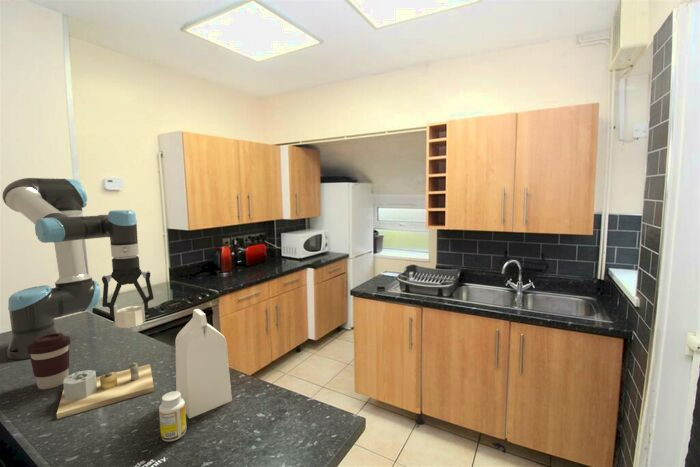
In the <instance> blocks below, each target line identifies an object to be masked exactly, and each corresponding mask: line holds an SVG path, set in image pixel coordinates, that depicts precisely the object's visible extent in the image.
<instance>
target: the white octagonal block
mask: <svg viewBox="0 0 700 467" xmlns="http://www.w3.org/2000/svg"><path fill="white" fill-rule="evenodd" d="M117 320H118V328H120V329H121V328H123V329H127V328H134V327H137V326H139V325H142V324H144V322H143V317H142V307H141V305H133V306H125V307H122V308H119V309H117Z"/></svg>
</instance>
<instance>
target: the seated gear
mask: <svg viewBox="0 0 700 467" xmlns="http://www.w3.org/2000/svg"><path fill="white" fill-rule="evenodd" d="M80 375H82V376H84V378H83V379H79V380H76V378H77V377H78V376H80ZM96 377H97V374H96V370H91V369H86V370H81V371H76V372H73V373H72V374H69V376H68V377H66V378H65V379H64V382H63V384H62V385H63V390H64V395H65V400H70V401H75V400H79V399H83V398H86V397H88V396H90V395H92V394H93V393H95V392H96V391H97V381H96Z"/></svg>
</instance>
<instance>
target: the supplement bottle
mask: <svg viewBox="0 0 700 467" xmlns="http://www.w3.org/2000/svg"><path fill="white" fill-rule="evenodd" d="M158 415H159V429H160V437H161V440H163V441H164V442H174V441H177V440H178V439H181V438H182V437H183V436H185V433H186V432H187V414H186V413H185V401H184V399H183V398H181V394H180V392H178V391H176V390H172V391H168V392H167V393H165V394H163V395H162V397H161V404H160V405H159V406H158Z"/></svg>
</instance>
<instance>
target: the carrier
mask: <svg viewBox="0 0 700 467" xmlns="http://www.w3.org/2000/svg"><path fill="white" fill-rule="evenodd" d="M83 378H84V376H82V375H80V376H78V377H77V378H76V380H79V379H83ZM96 381H97V391H96V392H95V393H93V394H92V395H90V396H88V397H86V398H83V399H79V400H75V401H70V400H65V395H64V389H63V390H62V394H61V398H60V401H59V404H58V407H57V412H56V419H57V420H58V419H62V418H67V417H69V416H73V415H76V414H80V413H83V412H86V411H90V410H93V409H97V408H100V407H104V406H107V405H110V404H111V405H112V404H115V403H119V402H123V401H125V400H128V399H132V398H136V397H139V396H143V395H146V394H149V393H152V392H155V385H154V379H153V374H152V367H151V364H150V363H149V364H144V365H141V366H139V364H138V363H137V362H132V363H131V364H130V366H129V369H125V370H121V371H110V372H106V373H104V374H102V375H100V376H96Z"/></svg>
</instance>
